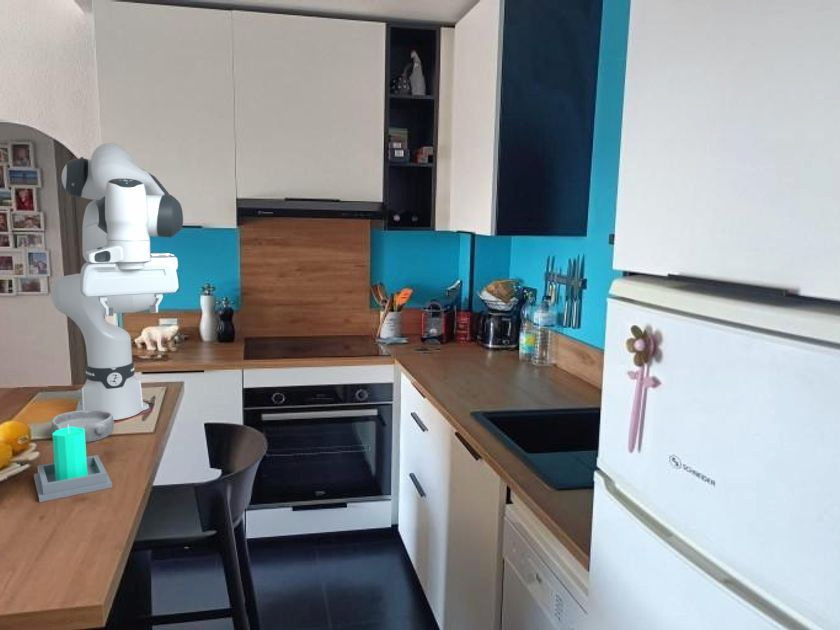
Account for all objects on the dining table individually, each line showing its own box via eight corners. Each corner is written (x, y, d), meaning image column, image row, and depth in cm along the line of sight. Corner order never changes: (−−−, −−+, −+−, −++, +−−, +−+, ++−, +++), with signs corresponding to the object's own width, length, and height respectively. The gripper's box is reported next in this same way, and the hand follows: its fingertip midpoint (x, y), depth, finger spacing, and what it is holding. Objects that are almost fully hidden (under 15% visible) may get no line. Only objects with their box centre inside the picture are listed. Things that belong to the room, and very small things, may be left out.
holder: (34, 478, 137) (33, 465, 137) (101, 465, 145) (100, 453, 144) (39, 502, 127) (38, 487, 126) (112, 487, 134) (111, 473, 133)
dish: (112, 442, 159) (111, 422, 158) (48, 448, 154) (46, 428, 153) (116, 423, 173) (115, 405, 172) (56, 428, 167) (55, 410, 167)
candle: (72, 487, 131) (69, 430, 129) (48, 483, 133) (44, 427, 131) (94, 475, 137) (91, 421, 135) (70, 472, 139) (67, 418, 137)
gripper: (173, 251, 153) (176, 309, 155) (76, 252, 141) (80, 315, 143) (181, 253, 147) (183, 313, 150) (80, 255, 136) (84, 320, 138)
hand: (132, 314), depth 147 cm, fingers open, 8 cm apart
